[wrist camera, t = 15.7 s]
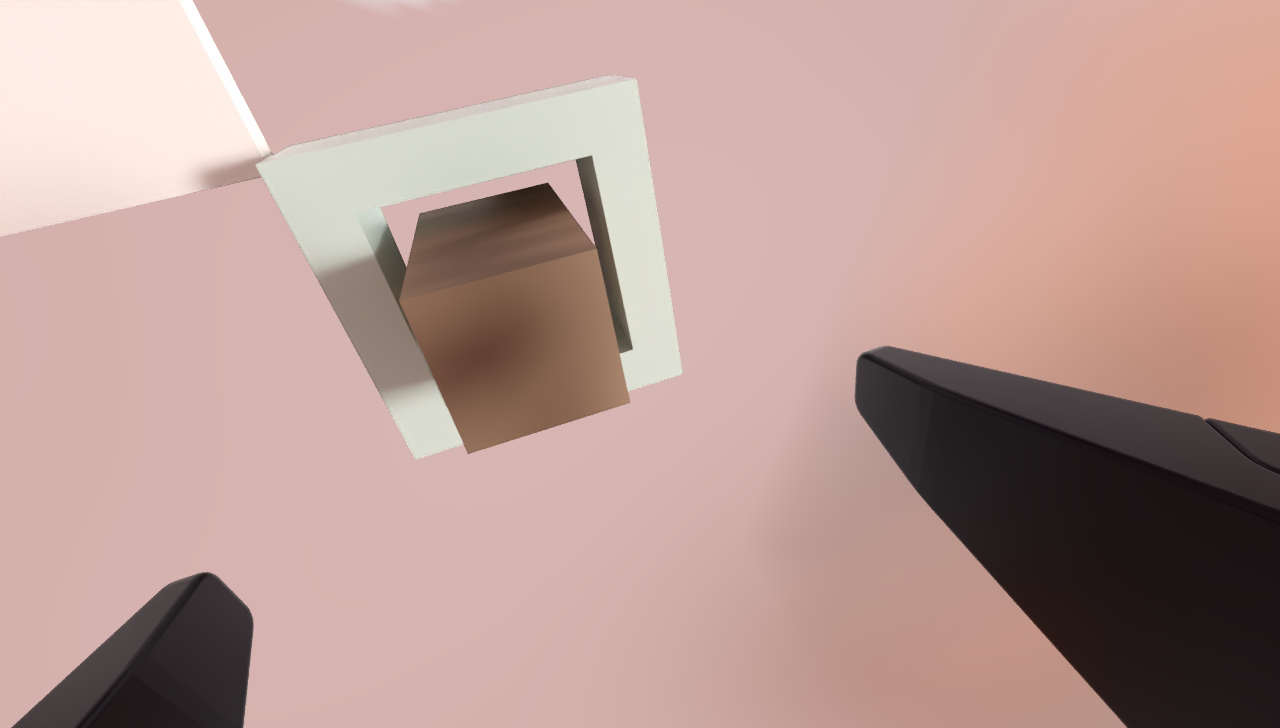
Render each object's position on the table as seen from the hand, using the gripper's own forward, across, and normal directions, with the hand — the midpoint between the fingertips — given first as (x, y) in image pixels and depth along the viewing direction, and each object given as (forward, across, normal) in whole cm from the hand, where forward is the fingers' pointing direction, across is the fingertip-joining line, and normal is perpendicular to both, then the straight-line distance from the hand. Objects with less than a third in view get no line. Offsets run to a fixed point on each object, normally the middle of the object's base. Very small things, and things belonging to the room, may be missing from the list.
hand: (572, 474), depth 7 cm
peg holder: (+12, 0, +1) cm, 12 cm away
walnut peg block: (+12, 0, +1) cm, 12 cm away
